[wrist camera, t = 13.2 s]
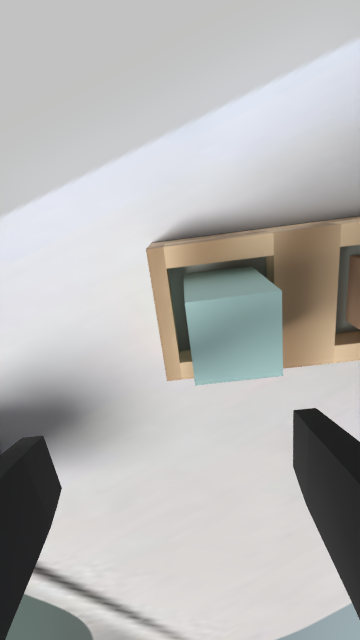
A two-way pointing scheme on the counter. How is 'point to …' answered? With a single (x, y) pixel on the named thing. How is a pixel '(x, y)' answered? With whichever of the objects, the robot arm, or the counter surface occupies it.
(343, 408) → the counter surface
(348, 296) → the tan cardboard box
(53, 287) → the counter surface
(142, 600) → the counter surface
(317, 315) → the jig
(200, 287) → the block
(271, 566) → the counter surface
